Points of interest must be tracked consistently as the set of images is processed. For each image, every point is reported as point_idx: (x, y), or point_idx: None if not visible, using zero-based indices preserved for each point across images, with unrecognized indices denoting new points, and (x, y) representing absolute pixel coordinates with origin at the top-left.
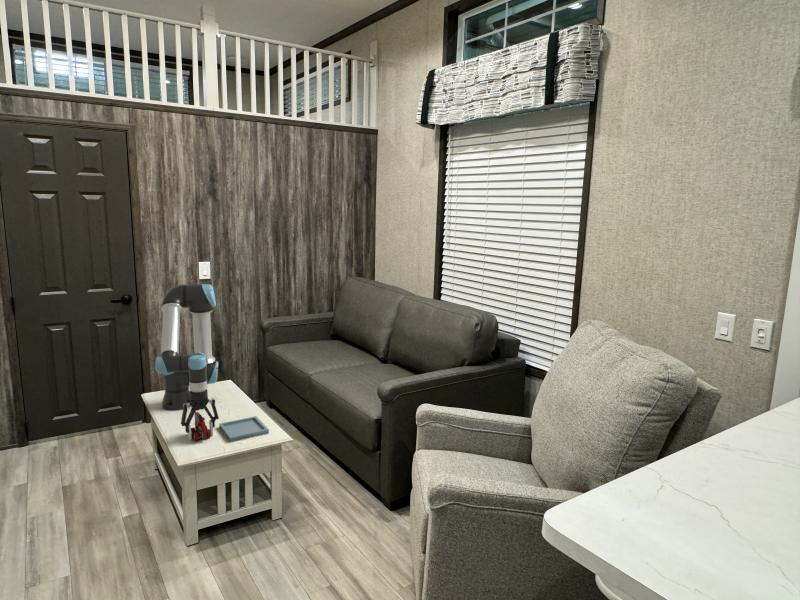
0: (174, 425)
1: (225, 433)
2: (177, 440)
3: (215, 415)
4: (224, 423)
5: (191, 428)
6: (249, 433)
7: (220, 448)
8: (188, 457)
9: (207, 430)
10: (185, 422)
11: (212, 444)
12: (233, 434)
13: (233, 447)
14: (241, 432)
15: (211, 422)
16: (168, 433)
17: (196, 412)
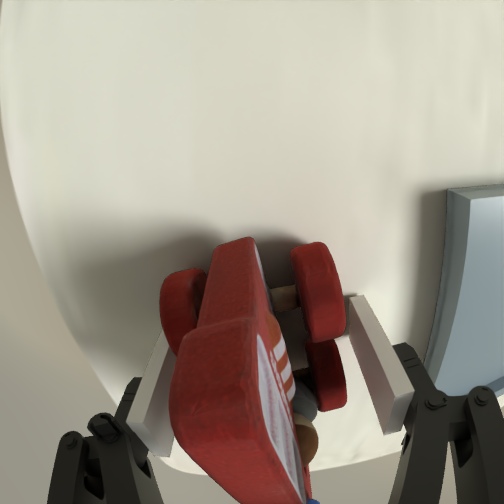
0: (54, 13)
1: (433, 363)
2: (95, 320)
3: (456, 468)
4: (498, 219)
5: (173, 350)
6: (497, 396)
7: (342, 451)
8: (197, 470)
9: (325, 411)
10: (102, 458)
11: (320, 425)
12: (459, 368)
13: (392, 447)
14: (496, 350)
15: (390, 431)
16: (16, 170)
17: (217, 455)
